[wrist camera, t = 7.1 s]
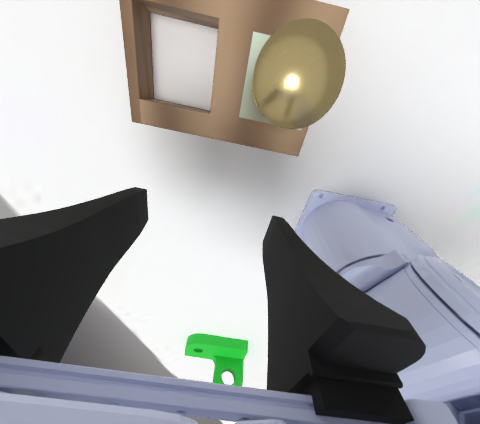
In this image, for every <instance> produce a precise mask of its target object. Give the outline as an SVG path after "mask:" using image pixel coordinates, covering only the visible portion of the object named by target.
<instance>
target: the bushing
mask: <svg viewBox="0 0 480 424" xmlns="http://www.w3.org/2000/svg"><path fill="white" fill-rule="evenodd" d="M345 69H346V60H345V53H344V49H343V46H342V43H341V41H340V39H339V37H338V35H337V34H336V33H335V31H334V30H333V29H332V28H331V27H330V26H329V25H327V24H326V23H324V22H322V21H320V20H317V19H312V18H301V19H296V20H293V21H291V22H288V23H286V24H285V25H283V26H281V27H280V28H279V29H277V30H276V31H275V32H274V33H273V34H272V35H271V36H270V37H269V39H268V40H267V41H266V42H265V44H264V46H263V47H262V49H261V51H260V53H259V55H258V58H257V61H256V64H255V68H254V72H253V77H252V84H251V90H252V96H253V99H254V102H255V104H256V106H257V107H258V109H259V110H260V112H261V113H262V115H263V116H264V117H265V118H266V119H267V120H268V121H269V122H270V123H272V124H273V125H275V126H277V127H279V128H283V129H289V130H290V129H301V128H304V127H307V126H309V125H311V124H313V123H315V122H316V121H318V120H319V119H320V118H322V117H323V116H324V115H325V114H326V113H327V112H328V111H329V109H330V108H331V107H332V105H333V104H334V103H335V101H336V99H337V97H338V95H339V93H340V91H341V88H342V85H343V81H344V77H345Z"/></svg>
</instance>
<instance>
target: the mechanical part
mask: <svg viewBox="0 0 480 424" xmlns="http://www.w3.org/2000/svg"><path fill="white" fill-rule="evenodd" d="M247 349H248V341H246V340H239V339H233V338H226V337H220V336H213V335H207V334H193V335H191V336H189V337H188V340H187V344H186V348H185V355H186V356H193V357H200V358H207V359H212V360H213V361H214V363H215V369H214V376H213V383H217V384H224V383H223V381H222V378H221V375H222V373H223V372H225V371H229V372H231V373H232V374H233V377H234V383H233V384H232V385H233V386H242V382H243V359H244V357H245V355H246V353H247Z"/></svg>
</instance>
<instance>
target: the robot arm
mask: <svg viewBox="0 0 480 424" xmlns="http://www.w3.org/2000/svg"><path fill="white" fill-rule="evenodd" d="M320 194H323V195H322V196H321V197H319V195H320ZM382 206H383V207H382ZM381 207H382V208H381ZM380 208H381V209H380ZM395 210H396V207H395V206H394V205H391V204H386V203H381V202H376V201H371V200H366V199H361V198H356V197H351V196H346V195H341V194H336V193H331V192H326V191H321V190H314V191H313V192H312V193H311V195H310V198H309V200H308V202H307V205H306V207H305V209H304V211H303V214H302V216H301V218H300V221H299V223H298V225H297V228H296V230H295V231H294V230H293V229H292V228H291V226H290V225H289V224H288V223H287V222H286V221H285V220H284V219H283V218H282V217H277V216H272V219H271V221H270V224H269V227H268V229H267V232H266V235H265V237H264V240H263V264H264V272H265V280H266V287H267V297H268V372H267V390H264V389H256V388H248V387H241V386H233V385H225V384H217V383H209V382H202V381H194V380H186V379H178V378H170V377H163V376H155V375H147V374H140V373H132V372H124V371H116V370H108V369H100V368H93V367H85V366H77V365H69V364H62V363H60V361H61V359H62V357H63V355H64V353H65V351H66V349H67V347H68V345H69V343H70V341H71V339H72V337H73V335H74V333H75V332H76V330H77V328H78V326H79V324H80V322H81V321H82V319H83V317H84V315H85V313H86V312H87V309H88V308H89V306H90V305H91V303H92V301H93V300H94V298H95V296H96V295H97V293H98V291H99V290H100V288H101V286H102V285H103V283H104V282H105V280H106V278H107V277H108V275H109V274H110V272H111V271H112V269H113V268H114V267H115V265H116V264H117V263H118V262H119V260H120V259H121V258H122V256H123V255H124V254H125V253H126V251H127V250H128V249H129V248H130V246H131V245H132V244H133V243H134V241H135V240H136V239H137V237H138V236H139V235H140V233H141V232H142V230H143V228H144V226H145V225H146V223H147V221H148V206H147V190H146V189H141V188H137V187H134V188H130V189H126V190H123V191H120V192H116V193H113V194H110V195H107V196H104V197H101V198H98V199H94V200H91V201H87V202H84V203H80V204H77V205H73V206H69V207H65V208H61V209H56V210H51V211H47V212H42V213H36V214H30V215H24V216H18V217H12V218H6V219H0V424H198V423H197V421H194V420H192V419H189V418H187V417H184V416H190V417H199V418H208V419H217V420H225V421H234V422H236V423H235V424H480V287H479V286H478V285H477V284H475V283H474V282H473V281H471V280H470V279H469V278H467V277H466V276H465V275H463V274H462V273H460V272H459V271H458V270H456V269H455V268H453V267H452V266H451V265H449V264H448V263H446V262H444V261H443V260H441V259H439V258H438V257H437V255H436V253H435V252H434V251H433V250H432V249H431V248H430V247H429V246H428V245H427V244H425V243H424V242H423V241H422V240H421V239H419V238H418V237H417V236H416V235H415V234H413V233H412V232H411V231H410V230H409V229H408V228H406V227H405V226H404V225H403V224H402V223H400V222H399V221H398V220H397V219H396V218H394V217H393V216H392V214H393V213H394V212H395Z"/></svg>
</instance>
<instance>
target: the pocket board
mask: <svg viewBox="0 0 480 424" xmlns="http://www.w3.org/2000/svg"><path fill="white" fill-rule="evenodd" d="M119 1H120V10H121V20H122V30H123V39H124V49H125V59H126V68H127V78H128V87H129V97H130V107H131V116H132V122H136V123H141V124H146V125H150V126H155V127H160V128H165V129H169V130H174V131H179V132H184V133H189V134H193V135H198V136H203V137H208V138H212V139H217V140H222V141H227V142H232V143H236V144H241V145H246V146H251V147H255V148H260V149H265V150H270V151H275V152H279V153H284V154H289V155H294V156H298V155H299V152H300V149H301V146H302V144H303V141H304V138H305V135H306V132H307V129H308V126H307V127H304V128H301V129H290V130H289V129H283V128H279V127H277V126H275V125H273V124H272V123H270V122H269V121H268V120H267V119H266V118H265V117H264V116H263V115H262V113H261V112H260V110H259V109H258V107H257V106H256V104H255V102H254V99H253V96H252V90H251V84H252V77H253V72H254V68H255V64H256V61H257V58H258V55H259V53H260V51H261V49H262V47H263V46H264V44H265V42H266V41H267V40H268V39H269V37H270V36H271V35H272V34H273V33H274V32H275V31H276V30H277V29H279V28H280V27H281V26H283V25H285V24H286V23H288V22H291V21H293V20H296V19H301V18H312V19H317V20H320V21H322V22H324V23H326V24H327V25H329V26H330V27H331V28H332V29H333V30H334V31H335V33H336V34H337V35H338V37H339V38H340V35H341V32H342V30H343V27H344V24H345V21H346V18H347V15H348V13H349V10H350V9H346V8H343V7H339V6H335V5H331V4H327V3H323V2H319V1H315V0H119ZM150 12H151V13H155V14H159V15H163V16H167V17H172V18H176V19H180V20H184V21H188V22H192V23H196V24H201V25H205V26H209V27H213V28H217V29H218V37H217V48H216V59H215V69H214V80H213V91H212V101H211V111H208V110H203V109H198V108H194V107H189V106H185V105H180V104H175V103H171V102H166V101H162V100H157V99H154V92H153V70H152V48H151V26H150Z"/></svg>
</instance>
